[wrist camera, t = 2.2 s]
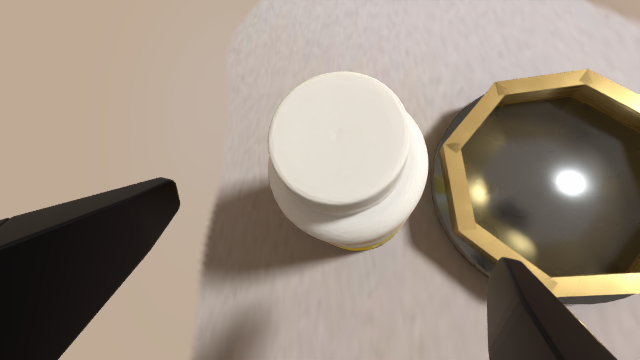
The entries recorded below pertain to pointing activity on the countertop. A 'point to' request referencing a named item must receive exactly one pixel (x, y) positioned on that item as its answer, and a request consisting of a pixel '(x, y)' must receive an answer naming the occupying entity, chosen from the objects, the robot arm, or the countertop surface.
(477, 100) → the black and gold tray
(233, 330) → the countertop surface
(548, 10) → the countertop surface
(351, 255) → the countertop surface
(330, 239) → the supplement bottle
